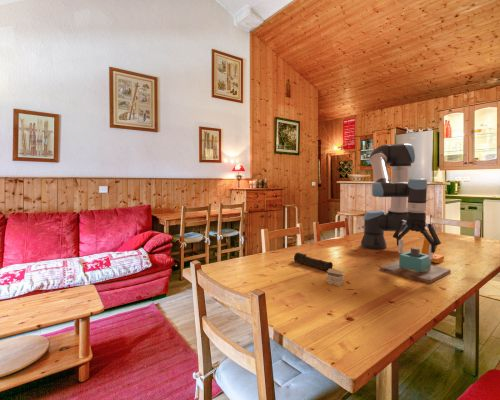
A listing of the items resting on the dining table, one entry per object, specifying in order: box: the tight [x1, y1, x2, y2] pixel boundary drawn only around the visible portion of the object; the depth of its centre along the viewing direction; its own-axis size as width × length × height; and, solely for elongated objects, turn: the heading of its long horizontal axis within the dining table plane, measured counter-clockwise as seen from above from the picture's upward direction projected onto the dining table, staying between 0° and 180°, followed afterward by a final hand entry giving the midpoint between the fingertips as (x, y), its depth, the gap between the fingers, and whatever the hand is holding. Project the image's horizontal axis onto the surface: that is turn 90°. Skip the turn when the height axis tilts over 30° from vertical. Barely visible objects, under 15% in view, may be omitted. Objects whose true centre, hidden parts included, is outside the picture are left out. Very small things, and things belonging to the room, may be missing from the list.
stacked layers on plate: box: [326, 267, 345, 287], centre depth 120 cm, size 10×9×6 cm
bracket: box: [420, 237, 445, 264], centre depth 149 cm, size 11×7×12 cm, turn 126°
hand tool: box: [293, 252, 334, 272], centre depth 143 cm, size 23×5×6 cm, turn 38°
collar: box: [398, 250, 432, 272], centre depth 133 cm, size 10×10×6 cm
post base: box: [379, 247, 452, 284], centre depth 133 cm, size 22×22×11 cm
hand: (414, 255), depth 133 cm, fingers open, 13 cm apart
